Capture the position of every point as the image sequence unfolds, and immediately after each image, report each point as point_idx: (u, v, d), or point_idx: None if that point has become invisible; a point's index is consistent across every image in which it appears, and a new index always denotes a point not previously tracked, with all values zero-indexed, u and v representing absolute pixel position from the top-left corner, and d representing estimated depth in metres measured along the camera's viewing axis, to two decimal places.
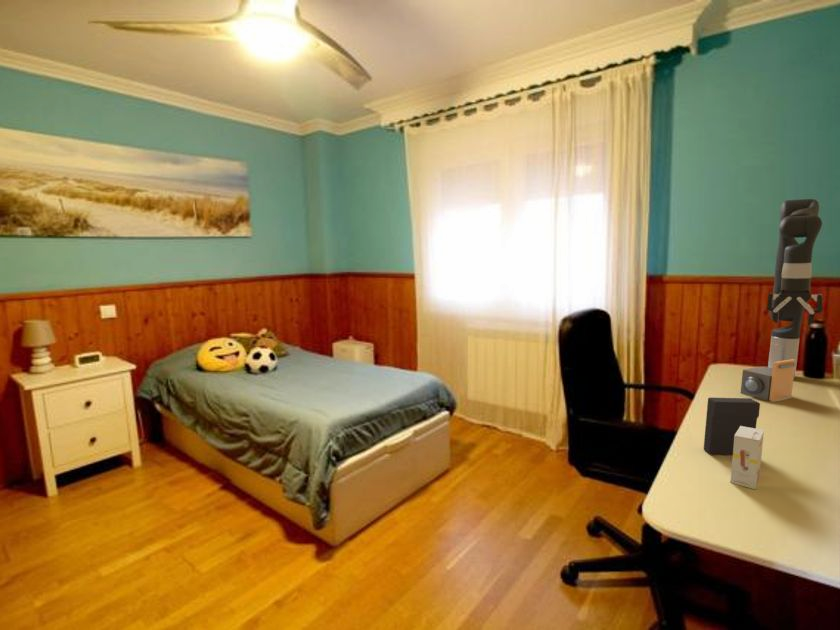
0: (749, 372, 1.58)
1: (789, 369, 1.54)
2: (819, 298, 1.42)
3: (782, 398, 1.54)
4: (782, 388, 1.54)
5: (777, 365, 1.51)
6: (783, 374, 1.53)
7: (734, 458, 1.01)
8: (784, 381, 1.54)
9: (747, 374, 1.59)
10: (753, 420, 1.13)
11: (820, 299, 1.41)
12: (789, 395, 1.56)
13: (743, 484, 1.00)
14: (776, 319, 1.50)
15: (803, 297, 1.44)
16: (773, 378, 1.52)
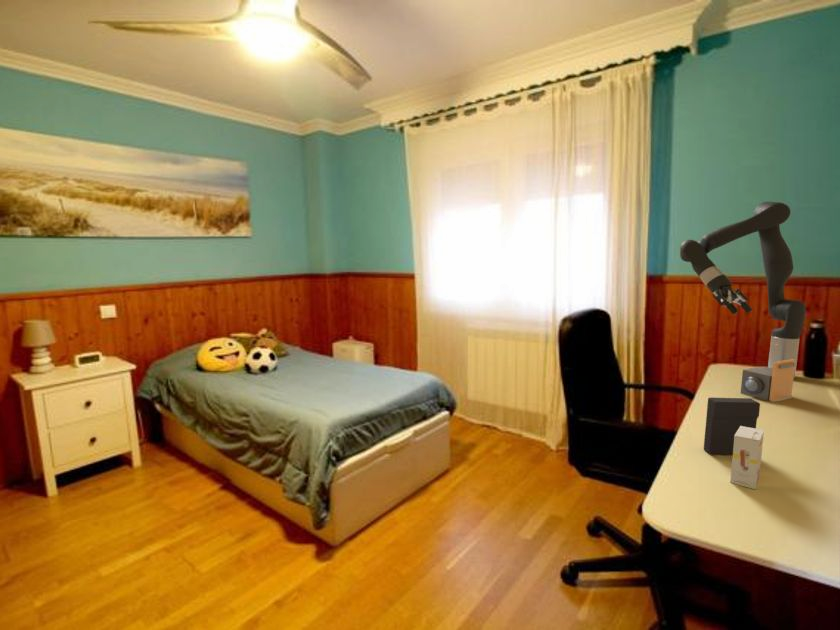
0: (749, 372, 1.58)
1: (789, 369, 1.54)
2: None
3: (782, 398, 1.54)
4: (782, 388, 1.54)
5: (777, 365, 1.51)
6: (783, 374, 1.53)
7: (734, 458, 1.01)
8: (784, 381, 1.54)
9: (747, 374, 1.59)
10: (753, 420, 1.13)
11: None
12: (789, 395, 1.56)
13: (743, 484, 1.00)
14: None
15: None
16: (773, 378, 1.52)
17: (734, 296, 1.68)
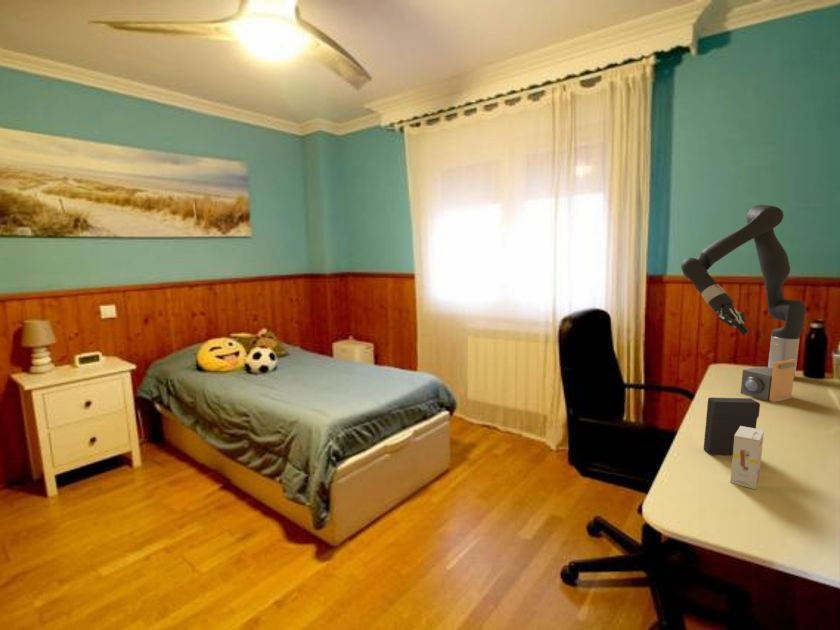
0: (749, 372, 1.58)
1: (789, 369, 1.54)
2: None
3: (782, 398, 1.54)
4: (782, 388, 1.54)
5: (777, 365, 1.51)
6: (783, 374, 1.53)
7: (734, 458, 1.01)
8: (784, 381, 1.54)
9: (747, 374, 1.59)
10: (753, 420, 1.13)
11: None
12: (789, 395, 1.56)
13: (743, 484, 1.00)
14: None
15: None
16: (773, 378, 1.52)
17: None
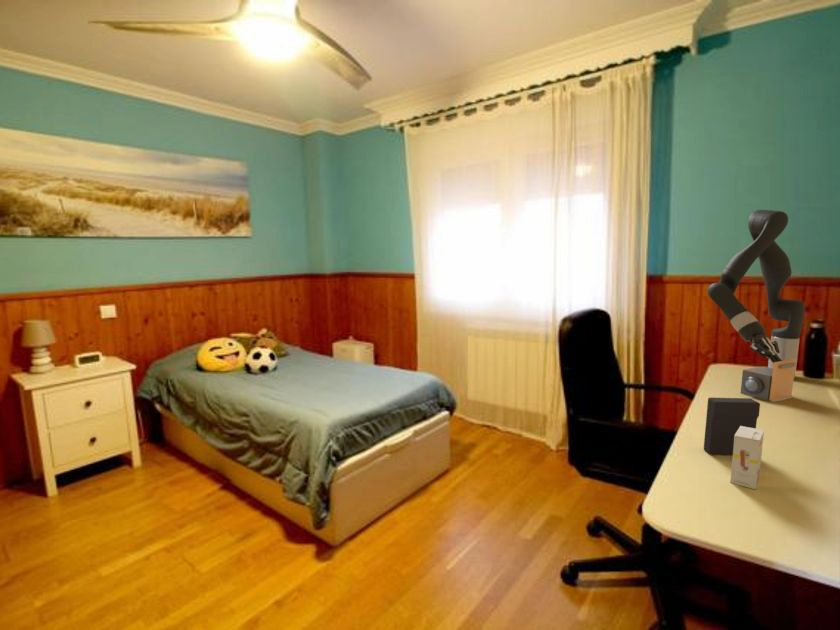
0: (749, 372, 1.58)
1: (789, 369, 1.54)
2: None
3: (782, 398, 1.54)
4: (782, 388, 1.54)
5: (777, 365, 1.51)
6: (783, 374, 1.53)
7: (734, 458, 1.01)
8: (784, 381, 1.54)
9: (747, 374, 1.59)
10: (753, 420, 1.13)
11: None
12: (789, 395, 1.56)
13: (743, 484, 1.00)
14: None
15: None
16: (773, 378, 1.52)
17: None
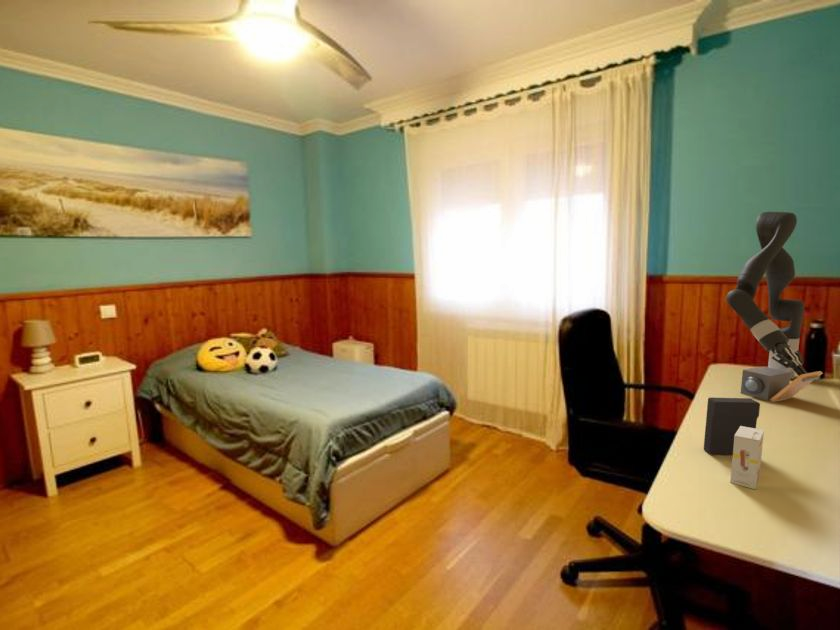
0: (749, 372, 1.58)
1: None
2: None
3: (783, 399, 1.54)
4: (790, 392, 1.52)
5: (802, 378, 1.44)
6: (801, 383, 1.48)
7: (734, 458, 1.01)
8: (796, 388, 1.50)
9: (747, 374, 1.59)
10: (753, 420, 1.13)
11: None
12: (791, 396, 1.56)
13: (743, 484, 1.00)
14: None
15: None
16: (789, 386, 1.47)
17: None
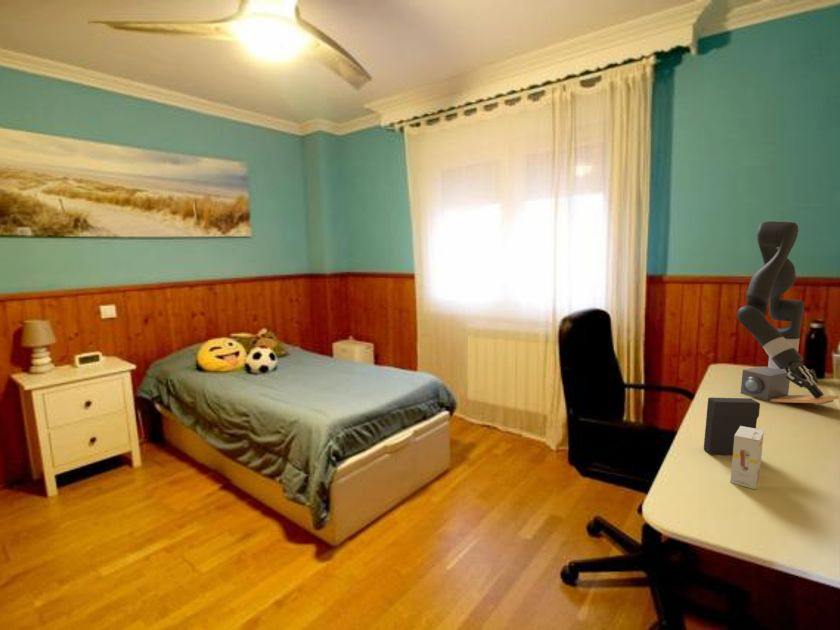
0: (749, 372, 1.58)
1: None
2: None
3: None
4: None
5: (817, 402, 1.41)
6: None
7: (734, 458, 1.01)
8: None
9: (747, 374, 1.59)
10: (753, 420, 1.13)
11: None
12: None
13: (743, 484, 1.00)
14: None
15: None
16: (798, 401, 1.45)
17: None
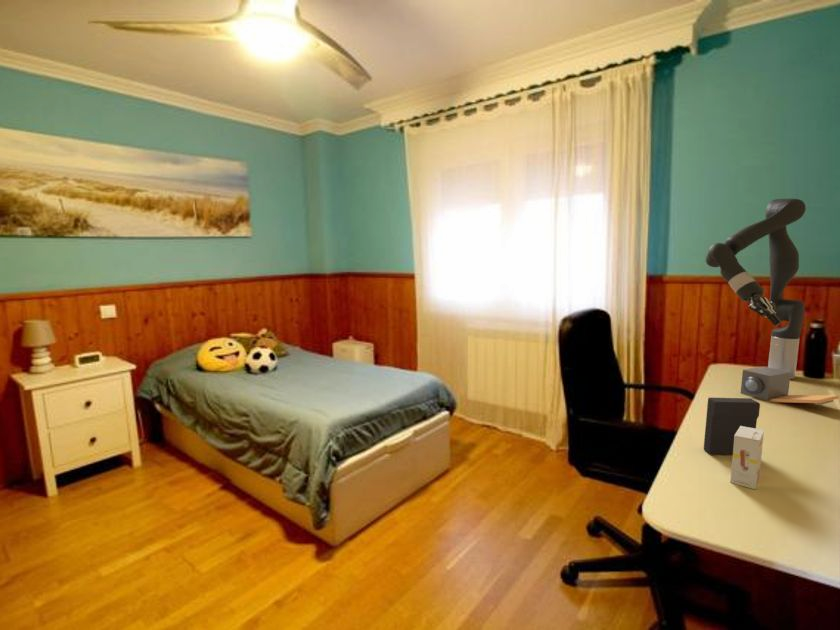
0: (749, 372, 1.58)
1: None
2: None
3: None
4: None
5: (817, 402, 1.41)
6: None
7: (734, 458, 1.01)
8: None
9: (747, 374, 1.59)
10: (753, 420, 1.13)
11: None
12: None
13: (743, 484, 1.00)
14: None
15: None
16: (798, 401, 1.45)
17: None
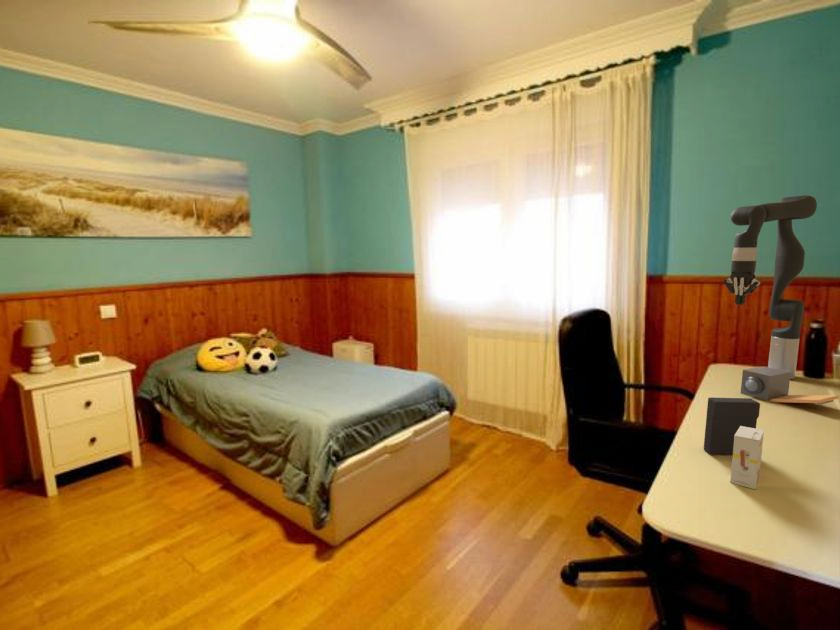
0: (749, 372, 1.58)
1: None
2: (754, 284, 1.61)
3: None
4: None
5: (817, 402, 1.41)
6: None
7: (734, 458, 1.01)
8: None
9: (747, 374, 1.59)
10: (753, 420, 1.13)
11: (753, 285, 1.61)
12: None
13: (743, 484, 1.00)
14: (737, 301, 1.67)
15: (746, 280, 1.64)
16: (798, 401, 1.45)
17: None
